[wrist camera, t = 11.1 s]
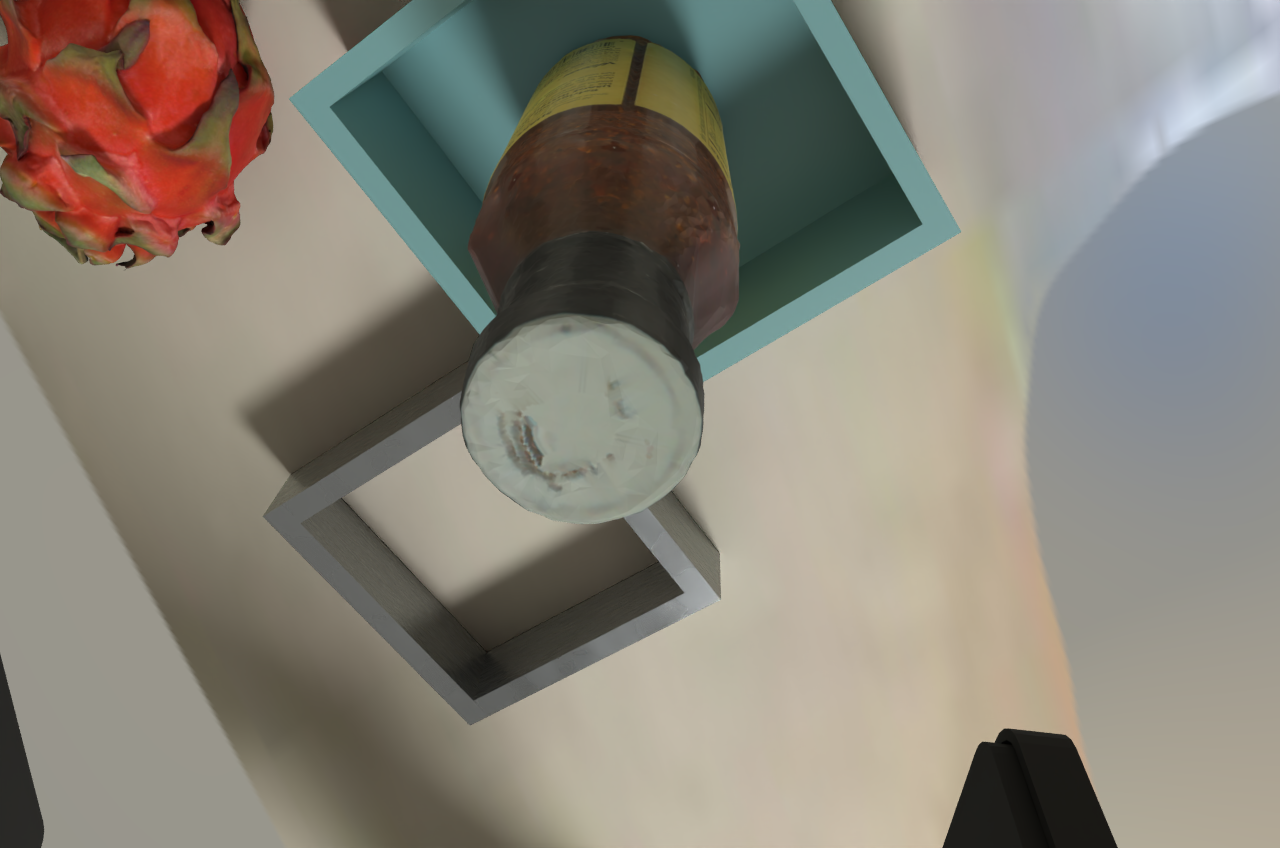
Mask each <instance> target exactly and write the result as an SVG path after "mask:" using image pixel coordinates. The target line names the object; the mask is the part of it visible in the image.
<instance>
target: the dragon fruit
mask: <svg viewBox="0 0 1280 848" xmlns="http://www.w3.org/2000/svg"><path fill="white" fill-rule="evenodd" d="M0 15H1V17H2V19H3V21H4V24H5V26H6V30H7V34H8V44H6V45H4V46H0V147H2V148H3V149H4V150H5V151H6V153H7V154H8V155H7V156H6V157H5V159H4V161H3V163H2V165H1V168H0V177H1V180H2V182H3V184H2V187H1V190H0V194H2V195H3V196H4V197H6V198H8V199H9V200H11V201H13V202H16V203H17V204H18V205H19V207H21V208H25V209H27V210H30V211H33V213H34V215H35V218H36V220H37V222H38V224H39V228H40V230H43V231H44V232H45V233H47V234H48V235H49V236H51V237H53V238H54V239H56V240H57V241H58V242H59V243H60V244H61V245H62V246H64V247H65V248H66V249H67V250H68V251H69V252H70V253H71V254H72V255H73V256H74V258H75V259H76V260H77V261H78V263H80V264H84V263H86V262H87V261H88V257H89V258H90V259H89V261H90V264H92V265H103V264H110V263H114V262H115V261H117V260H118V259H119V258H120V257H121V256H122V254H123V252H124V248H125V246H126V244H127V245H128V246H129V247H130V248H131V249H132V251H133V252H134V254H135V255H134V258H133V259H132V260H130V261H127V262H122V263H118V264H116V266H118V265H121V266H125V268H131V267H134V266H139V265H143V264H145V263H148V262H149V261H151V260H152V259H153V258H154V257H155V256H166V257H170V256H171V255H172V254H173V253H174V251H175V250H176V248H177V245H178V240H179V237H182V236H183V235H185V234H186V233H187V232H188V231H191V230H193V229H194V228H195V227H196V225H199V224H201V223H205V224H207V226H206V227H204V228H202V230H201V231H202V234H203V235H204V237H205V238H207V239H208V240H209V241H210V242H213V243H215V244H218V245H226V244H227V242H228V241H229V240H230V238H231V236H232V234H233V233H234V232H235V231H236V230H237V229H238V228H239V226H240V214H239V209H240V203H239V202H238V201H237V199H236V197H235V194H234V179H235V178H236V177H237V176H238V174H239V173H240V172H241V171H242V170H243V169H244V168H245V167H246V166H247V165H248V164H249V163H250V162H251V161H252V160H254V159H255V158H256V157H257V156H259V155H261V154H263V153H264V152H265V151H266V149H267V147H268V145H269V144H270V142H271V135H272V132H273V120H272V114H271V107H272V105H273V104H274V91H273V87H272V83H271V79H270V77H269V74H268V72H267V70H266V68H265V66H264V64H263V62H262V60H261V58H260V54H259V51H258V48H257V46H256V44H255V42H254V38H253V35H252V32H251V28H250V26H249V23H248V20H247V17H246V16H245V14H244V11H243V9H242V7H241V5H240V3H239V0H16V1H15V0H0ZM87 256H88V257H87ZM125 270H126V269H125Z"/></svg>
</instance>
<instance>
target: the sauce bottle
mask: <svg viewBox="0 0 1280 848" xmlns="http://www.w3.org/2000/svg"><path fill="white" fill-rule="evenodd" d="M737 233H738V224H737V212H736V205H735V200H734V194H733V188H732V184H731V178H730V172H729V166H728V160H727V155H726V148H725V141H724V135H723V126H722V122H721V119H720V115H719V112H718V109H717V106H716V103H715V101H714V99H713V96H712V95H711V93H710V91H709V89H708V87H707V86H706V84H705V83H704V81H703V79H702V77H701V75H700V73H699V72H698V71H697V70H695V69H693V68H692V67H691V66H690V65H689V64H687V63H686V62H685V61H684V60H683V59H682V58H681V57H679V56H678V55H676V54H675V53H673V52H672V51H670V50H668V49H666V48H664V47H663V46H661V45H659V44H656V43H653V42H651V41H649V40H648V39H645V38H643V37H640V36H633V35H627V36H612V37H608V38H604V39H598V40H596V41H595V42H593V43H590V44H587V45H585V46H582V47H580V48H578V49H575V50H573V51H571V52H570V53H568V54H566V55H565V56H564V57H563V58H562V59H561V60H560V61H559V62H558V63H556V64H555V65H554V66H553V67H552V68H551V69H550V70H549V72H548V73H547V74H546V75H545V76H544V77H543V79H542V80H541V82H540V83H539V84H538V86H537V88H536V90H535V92H534V93H533V95H532V97H531V99H530V101H529V103H528V105H527V107H526V109H525V111H524V113H523V115H522V117H521V119H520V121H519V123H518V125H517V127H516V129H515V131H514V133H513V135H512V137H511V139H510V141H509V143H508V145H507V147H506V149H505V151H504V153H503V155H502V157H501V158H500V160H499V162H498V164H497V166H496V168H495V170H494V172H493V174H492V176H491V178H490V181H489V183H488V186H487V189H486V192H485V195H484V199H483V204H482V207H481V210H480V212H479V215H478V217H477V219H476V222H475V226H474V228H473V231H472V233H471V234H470V238H469V242H468V251H469V253H470V255H471V257H472V259H473V261H474V263H475V266H476V268H477V270H478V272H479V274H480V276H481V279H482V281H483V283H484V285H485V287H486V289H487V292H488V294H489V296H490V299H491V301H492V303H493V305H494V308H495V310H496V312H497V316H496V317H495V318H494V319H493V320H492V321H491V322H490V323H489V324H488V325H487V326H486V327H485V328H484V329H483V331H482V332H481V334H480V335H479V337H478V338H477V340H476V341H475V343H474V345H473V348H472V351H471V355H470V358H469V363H468V367H467V370H466V375H465V379H464V384H463V388H462V393H461V398H460V406H459V407H460V412H461V425H462V433H463V438H464V441H465V445H466V447H467V449H468V451H469V453H470V455H471V457H472V459H473V460H474V461H475V462H476V464H477V465H478V466H479V467H480V469H481V470H482V472H483V474H484V475H485V476H486V477H487V478H488V479H489V480H490V481H491V482H492V483H493V484H494V485H495V486H496V487H497V488H498V490H499V491H500V492H502V493H503V494H505V495H506V496H507V497H509V498H510V499H512V500H513V501H514V502H516V503H517V504H519V505H520V506H522V507H523V508H525V509H526V510H528V511H531V512H534V513H537V514H540V515H543V516H545V517H547V518H549V519H551V520H554V521H560V522H567V523H574V524H598V523H604V522H607V521H611V520H615V519H620V518H623V517H626V516H629V515H633V514H637V513H640V512H642V511H644V510H645V509H647V508H648V507H650V506H651V505H653V504H654V503H656V502H657V501H659V500H660V499H662V498H663V497H664V496H665V495H666V494H668V493H669V492H670V491H671V490H672V489H673V488H674V487H675V486H676V485H677V484H678V483H679V482H680V481H681V480H682V479H683V477H684V476H685V475H686V474H687V471H688V469H689V467H690V465H691V463H692V461H693V459H694V458H695V457H696V455H697V453H698V451H699V448H700V446H701V437H702V432H703V414H704V390H703V376H702V373H701V367H700V363H699V361H698V359H697V358H696V356H695V353H694V349H695V348H696V347H697V346H698V345H699V344H700V343H701V342H702V341H703V340H704V339H705V338H706V337H708V336H709V335H710V334H711V333H713V332H715V331H716V330H718V329H720V328H721V327H722V326H724V325H725V324H726V322H727V321H728V320H729V319H730V317H731V316H732V315H733V313H734V311H735V309H736V306H737V303H738V300H739V249H740V243H739V241H738V239H737Z"/></svg>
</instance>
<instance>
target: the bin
mask: <svg viewBox="0 0 1280 848" xmlns="http://www.w3.org/2000/svg"><path fill="white" fill-rule="evenodd" d="M627 35H633V36H640V37H643V38H645V39H648V40H649V41H651V42H653V43H656V44H659V45H661V46H663V47H664V48H666V49H668V50H670V51H672V52H673V53H675V54H676V55H678V56H679V57H681V58H682V59H683V60H684V61H685V62H686V63H687V64H689V65H690V66H691V67H692V68H693V69H695V70H697V71H698V72H699V73H700V75H701V77H702V79H703V81H704V83H705V84H706V86H707V87H708V89H709V91H710V93H711V95H712V96H713V99H714V101H715V103H716V106H717V109H718V112H719V115H720V119H721V122H722V126H723V135H724V141H725V148H726V155H727V160H728V166H729V172H730V178H731V184H732V188H733V194H734V200H735V205H736V212H737V224H738V233H737V239H738V241H739V243H740V249H739V300H738V303H737V306H736V309H735V311H734V313H733V315H732V316H731V317H730V319H729V320H728V321H727V322H726V324H725V325H724V326H722V327H721V328H720V329H718V330H716V331H715V332H713V333H711V334H710V335H709V336H708V337H706V338H705V339H704V340H703V341H702V342H701V343H700V344H699V345H698V346H697V347H696V348H695V349H694V353H695V356H696V358H697V359H698V361H699V363H700V367H701V373H702V376H703V382H704V381H706V380H708V379H709V378H711V377H713V376H714V375H716V374H718V373H720V372H721V371H723V370H725V369H726V368H728V367H730V366H732V365H733V364H735V363H737V362H738V361H740V360H742V359H744V358H745V357H747V356H749V355H751V354H752V353H754V352H756V351H757V350H759V349H761V348H763V347H764V346H766V345H768V344H769V343H771V342H773V341H775V340H776V339H778V338H780V337H781V336H783V335H785V334H787V333H788V332H790V331H792V330H794V329H795V328H797V327H799V326H800V325H802V324H804V323H806V322H807V321H809V320H811V319H812V318H814V317H816V316H818V315H819V314H821V313H823V312H825V311H826V310H828V309H830V308H831V307H833V306H835V305H837V304H838V303H840V302H842V301H843V300H845V299H847V298H849V297H850V296H852V295H854V294H855V293H857V292H859V291H861V290H862V289H864V288H866V287H868V286H869V285H871V284H873V283H874V282H876V281H878V280H880V279H881V278H883V277H885V276H886V275H888V274H890V273H892V272H893V271H895V270H897V269H898V268H900V267H902V266H904V265H905V264H907V263H909V262H911V261H912V260H914V259H916V258H917V257H919V256H921V255H923V254H924V253H926V252H928V251H929V250H931V249H933V248H935V247H936V246H938V245H940V244H942V243H943V242H945V241H947V240H948V239H950V238H952V237H954V236H955V235H957V234H959V233H960V232H961V230H960V229H959V227H958V225H957V223H956V222H955V220H954V218H953V216H952V214H951V213H950V211H949V209H948V207H947V206H946V204H945V202H944V200H943V199H942V197H941V195H940V193H939V191H938V190H937V188H936V186H935V184H934V183H933V181H932V179H931V177H930V175H929V174H928V172H927V170H926V168H925V167H924V165H923V163H922V161H921V159H920V158H919V156H918V154H917V152H916V151H915V149H914V147H913V145H912V143H911V142H910V140H909V138H908V136H907V135H906V133H905V131H904V129H903V128H902V126H901V124H900V122H899V120H898V119H897V117H896V115H895V113H894V112H893V110H892V108H891V106H890V104H889V103H888V101H887V99H886V97H885V96H884V94H883V92H882V90H881V88H880V87H879V85H878V83H877V81H876V80H875V78H874V76H873V74H872V72H871V71H870V69H869V67H868V65H867V64H866V62H865V60H864V58H863V56H862V55H861V53H860V51H859V49H858V48H857V46H856V44H855V42H854V41H853V39H852V37H851V35H850V33H849V32H848V30H847V28H846V26H845V25H844V23H843V21H842V19H841V17H840V16H839V14H838V12H837V10H836V9H835V7H834V5H833V3H832V1H831V0H412V1H411V2H410V3H408V4H407V5H406V6H405V7H403V8H402V9H401V10H400V11H398V12H397V13H396V14H395V15H393V16H392V17H391V18H389V19H388V20H387V21H386V22H384V23H383V24H382V25H381V26H379V27H378V28H377V29H376V30H374V31H373V32H372V33H371V34H369V35H368V36H367V37H366V38H364V39H363V40H362V41H361V42H359V43H358V44H357V45H356V46H354V47H353V48H352V49H351V50H349V51H348V52H347V53H346V54H344V55H343V56H342V57H341V58H339V59H338V60H337V61H336V62H334V63H333V64H332V65H331V66H329V67H328V68H327V69H326V70H324V71H323V72H322V73H321V74H319V75H318V76H317V77H316V78H314V79H313V80H312V81H311V82H309V83H308V84H307V85H306V86H304V87H303V88H302V89H300V90H299V91H298V92H297V93H295V94H294V95H293V96H292V97H290V98H289V100H290V101H291V102H292V103H293V105H294V106H295V107H296V108H297V110H298V111H299V112H300V113H301V114H302V116H303V117H304V118H305V119H306V121H307V122H308V123H309V124H310V126H311V127H312V128H313V129H314V131H315V132H316V133H317V134H318V135H319V137H320V138H321V139H322V140H323V142H324V143H325V144H326V145H327V147H328V148H329V149H330V150H331V152H332V153H333V154H334V155H335V156H336V158H337V159H338V160H339V161H340V163H341V164H342V165H343V166H344V168H345V169H346V170H347V171H348V173H349V174H350V175H351V176H352V177H353V179H354V180H355V181H356V182H357V184H358V185H359V186H360V187H361V189H362V190H363V191H364V192H365V194H366V195H367V196H368V197H369V198H370V200H371V201H372V202H373V203H374V205H375V206H376V207H377V208H378V210H379V211H380V212H381V213H382V215H383V216H384V217H385V218H386V219H387V221H388V222H389V223H390V224H391V226H392V227H393V228H394V229H395V231H396V232H397V233H398V234H399V235H400V237H401V238H402V239H403V240H404V242H405V243H406V244H407V245H408V247H409V248H410V249H411V250H412V252H413V253H414V254H415V255H416V256H417V258H418V259H419V260H420V261H421V263H422V264H423V265H424V266H425V268H426V269H427V270H428V271H429V273H430V274H431V275H432V276H433V277H434V279H435V280H436V281H437V282H438V284H439V285H440V286H441V287H442V289H443V290H444V291H445V292H446V294H447V295H448V296H449V297H450V298H451V300H452V301H453V302H454V303H455V305H456V306H457V307H458V308H459V310H460V311H461V312H462V313H463V315H464V316H465V317H466V318H467V319H468V321H469V322H470V323H471V324H472V326H473V327H474V328H475V329H476V331H477V332H478V333H479V334H481V332H482V331H483V329H484V328H485V327H486V326H487V325H488V324H489V323H490V322H491V321H492V320H493V319H494V318H495V317H496V316H497V312H496V310H495V308H494V305H493V303H492V301H491V299H490V296H489V294H488V292H487V289H486V287H485V285H484V283H483V281H482V279H481V276H480V274H479V272H478V270H477V268H476V266H475V263H474V261H473V259H472V257H471V255H470V253H469V251H468V242H469V238H470V234H471V233H472V231H473V228H474V226H475V222H476V219H477V217H478V215H479V212H480V210H481V207H482V204H483V199H484V195H485V192H486V189H487V186H488V183H489V181H490V178H491V176H492V174H493V172H494V170H495V168H496V166H497V164H498V162H499V160H500V158H501V157H502V155H503V153H504V151H505V149H506V147H507V145H508V143H509V141H510V139H511V137H512V135H513V133H514V131H515V129H516V127H517V125H518V123H519V121H520V119H521V117H522V115H523V113H524V111H525V109H526V107H527V105H528V103H529V101H530V99H531V97H532V95H533V93H534V92H535V90H536V88H537V86H538V84H539V83H540V82H541V80H542V79H543V77H544V76H545V75H546V74H547V73H548V72H549V70H550V69H551V68H552V67H553V66H554V65H555V64H556V63H558V62H559V61H560V60H561V59H562V58H563V57H564V56H565V55H566V54H568V53H570V52H571V51H573V50H575V49H578V48H580V47H582V46H585V45H587V44H590V43H593V42H595V41H596V40H598V39H604V38H608V37H612V36H627Z"/></svg>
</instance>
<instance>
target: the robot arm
mask: <svg viewBox="0 0 1280 848" xmlns="http://www.w3.org/2000/svg"><path fill="white" fill-rule="evenodd" d="M43 835H44V825H43V819H42V815H41V812H40V808H39V804H38V800H37V796H36V792H35V788H34V784H33V780H32V776H31V773H30V769H29V765H28V761H27V757H26V753H25V749H24V745H23V741H22V737H21V733H20V729H19V726H18V722H17V718H16V714H15V710H14V706H13V702H12V698H11V694H10V690H9V687H8V683H7V679H6V675H5V671H4V667H3V663H2V659H1V655H0V848H41V846H42V842H43ZM943 848H1118V847H1117V845H1116V843H1115V840H1114V838H1113V835H1112V833H1111V831H1110V828H1109V826H1108V823H1107V821H1106V819H1105V816H1104V814H1103V811H1102V809H1101V807H1100V804H1099V802H1098V799H1097V797H1096V795H1095V792H1094V790H1093V787H1092V785H1091V783H1090V780H1089V778H1088V775H1087V773H1086V771H1085V768H1084V766H1083V763H1082V761H1081V759H1080V756H1079V754H1078V751H1077V749H1076V747H1075V745H1074V744H1073V742H1072V740H1071V739H1070V738H1069V737H1067V736H1066V735H1062V734H1053V733H1044V732H1035V731H1026V730H1017V729H1003V730H1002V731H1001V732H1000V733H999V735H998V737H997V739H996V741H995V743H991V742H981V743H980V744H979V746H978V748H977V750H976V752H975V755H974V758H973V761H972V764H971V767H970V770H969V772H968V775H967V778H966V781H965V784H964V787H963V790H962V793H961V796H960V799H959V801H958V804H957V807H956V810H955V813H954V816H953V819H952V822H951V825H950V828H949V830H948V833H947V836H946V839H945V842H944V845H943Z"/></svg>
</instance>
